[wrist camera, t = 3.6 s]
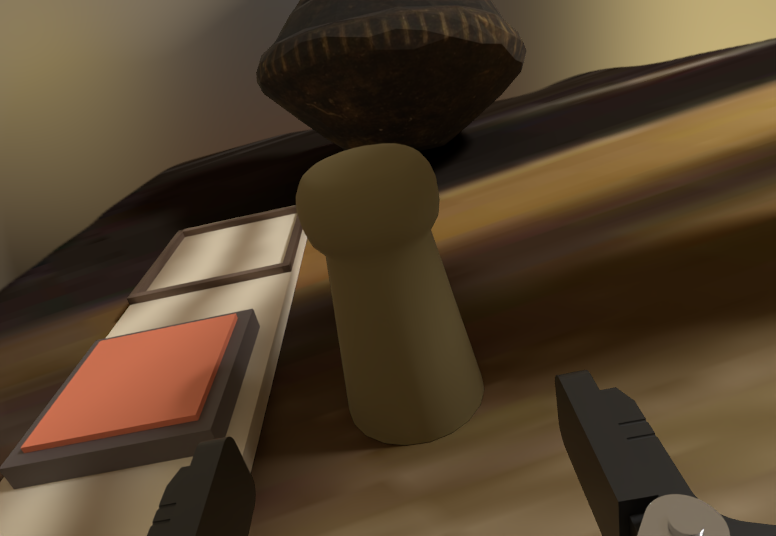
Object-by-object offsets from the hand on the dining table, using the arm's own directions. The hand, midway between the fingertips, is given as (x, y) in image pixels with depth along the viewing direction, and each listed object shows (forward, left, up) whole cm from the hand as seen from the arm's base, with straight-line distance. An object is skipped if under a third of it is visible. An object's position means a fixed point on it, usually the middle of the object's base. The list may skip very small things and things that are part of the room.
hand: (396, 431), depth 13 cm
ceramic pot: (-2, -44, -7) cm, 44 cm away
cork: (0, -9, -7) cm, 11 cm away
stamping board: (+13, -18, -6) cm, 23 cm away
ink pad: (+13, -11, -6) cm, 18 cm away
